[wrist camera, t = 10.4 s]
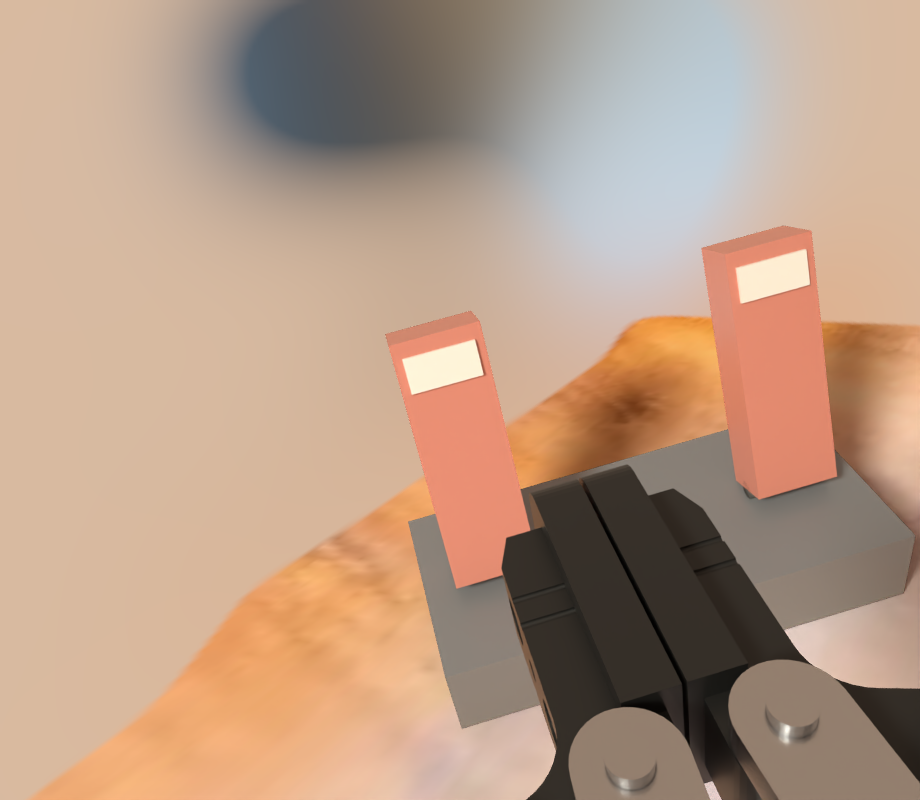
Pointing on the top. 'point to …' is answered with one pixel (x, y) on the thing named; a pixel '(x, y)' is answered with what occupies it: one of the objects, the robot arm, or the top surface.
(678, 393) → the top surface
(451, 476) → the block
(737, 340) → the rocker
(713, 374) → the top surface
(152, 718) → the top surface
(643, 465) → the grey switch base
